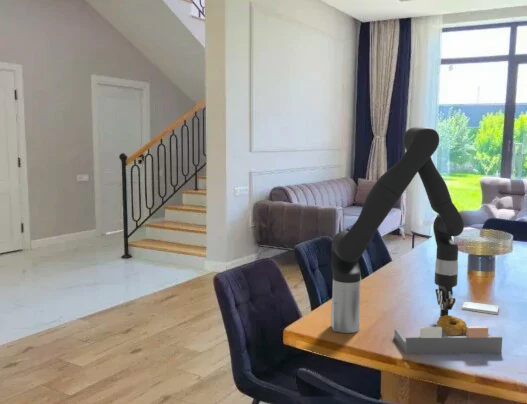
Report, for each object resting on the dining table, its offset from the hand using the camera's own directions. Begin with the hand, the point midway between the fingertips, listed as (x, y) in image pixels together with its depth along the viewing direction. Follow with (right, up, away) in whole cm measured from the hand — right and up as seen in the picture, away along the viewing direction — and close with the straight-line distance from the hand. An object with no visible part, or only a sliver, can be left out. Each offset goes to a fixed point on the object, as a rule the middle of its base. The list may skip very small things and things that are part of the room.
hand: (444, 319), depth 184 cm
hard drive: (+19, 0, +15) cm, 24 cm away
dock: (-6, -4, -20) cm, 22 cm away
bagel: (0, -3, -9) cm, 9 cm away
